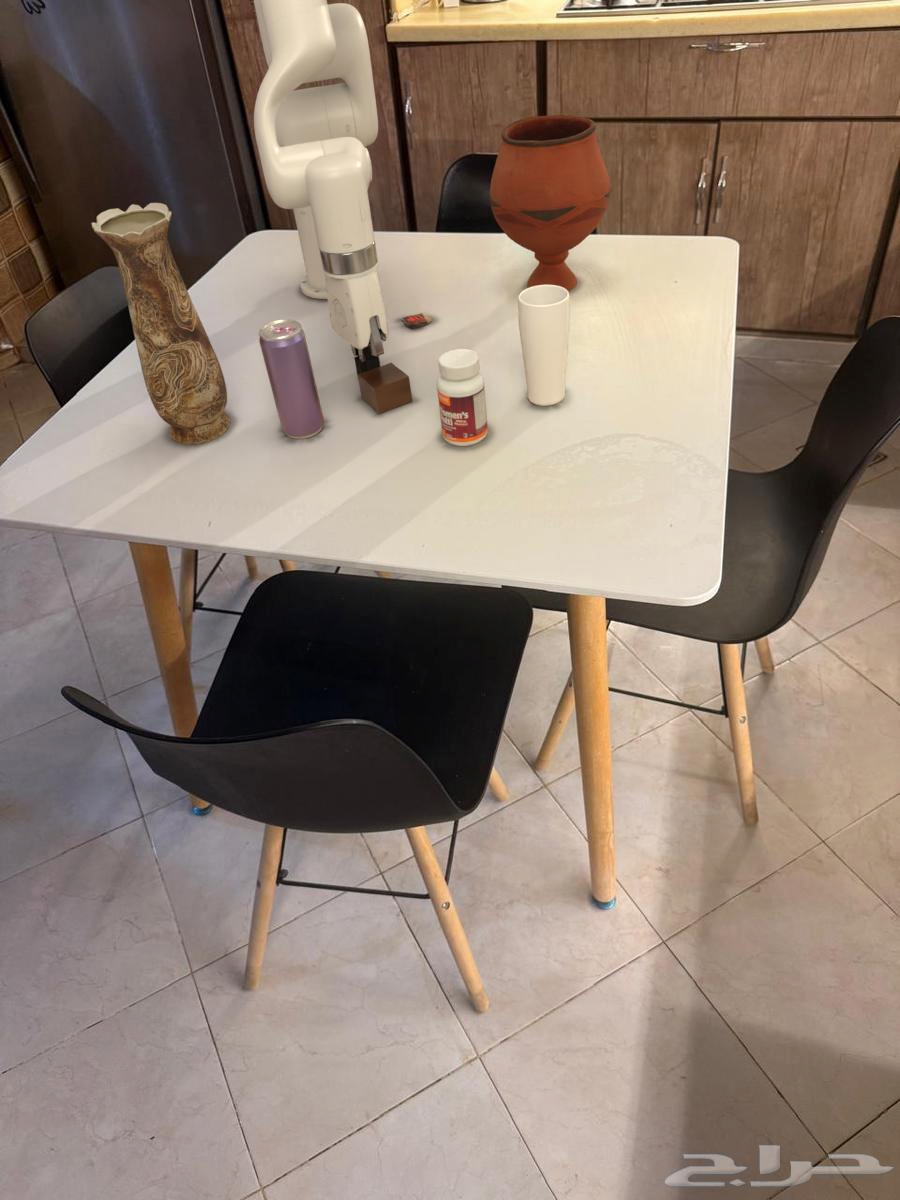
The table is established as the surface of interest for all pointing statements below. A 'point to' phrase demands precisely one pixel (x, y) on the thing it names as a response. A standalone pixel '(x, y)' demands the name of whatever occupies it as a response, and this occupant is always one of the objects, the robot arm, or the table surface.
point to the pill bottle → (461, 398)
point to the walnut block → (385, 388)
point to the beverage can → (291, 378)
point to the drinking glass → (544, 341)
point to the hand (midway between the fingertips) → (370, 380)
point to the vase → (166, 325)
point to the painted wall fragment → (416, 320)
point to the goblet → (550, 190)
